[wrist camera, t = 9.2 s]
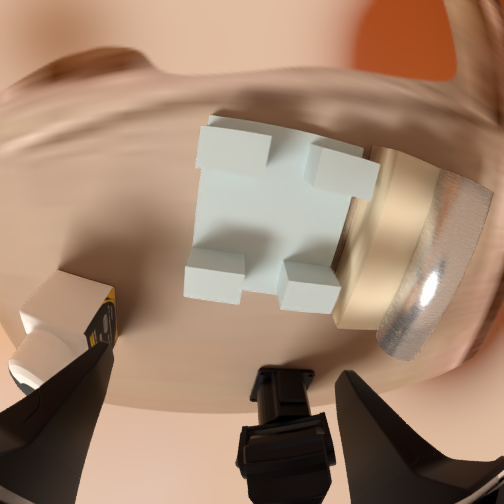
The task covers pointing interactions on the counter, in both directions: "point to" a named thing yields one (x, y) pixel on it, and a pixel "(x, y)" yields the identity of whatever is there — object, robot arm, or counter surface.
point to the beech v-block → (383, 238)
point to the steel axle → (435, 265)
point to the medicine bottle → (62, 327)
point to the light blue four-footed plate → (272, 213)
